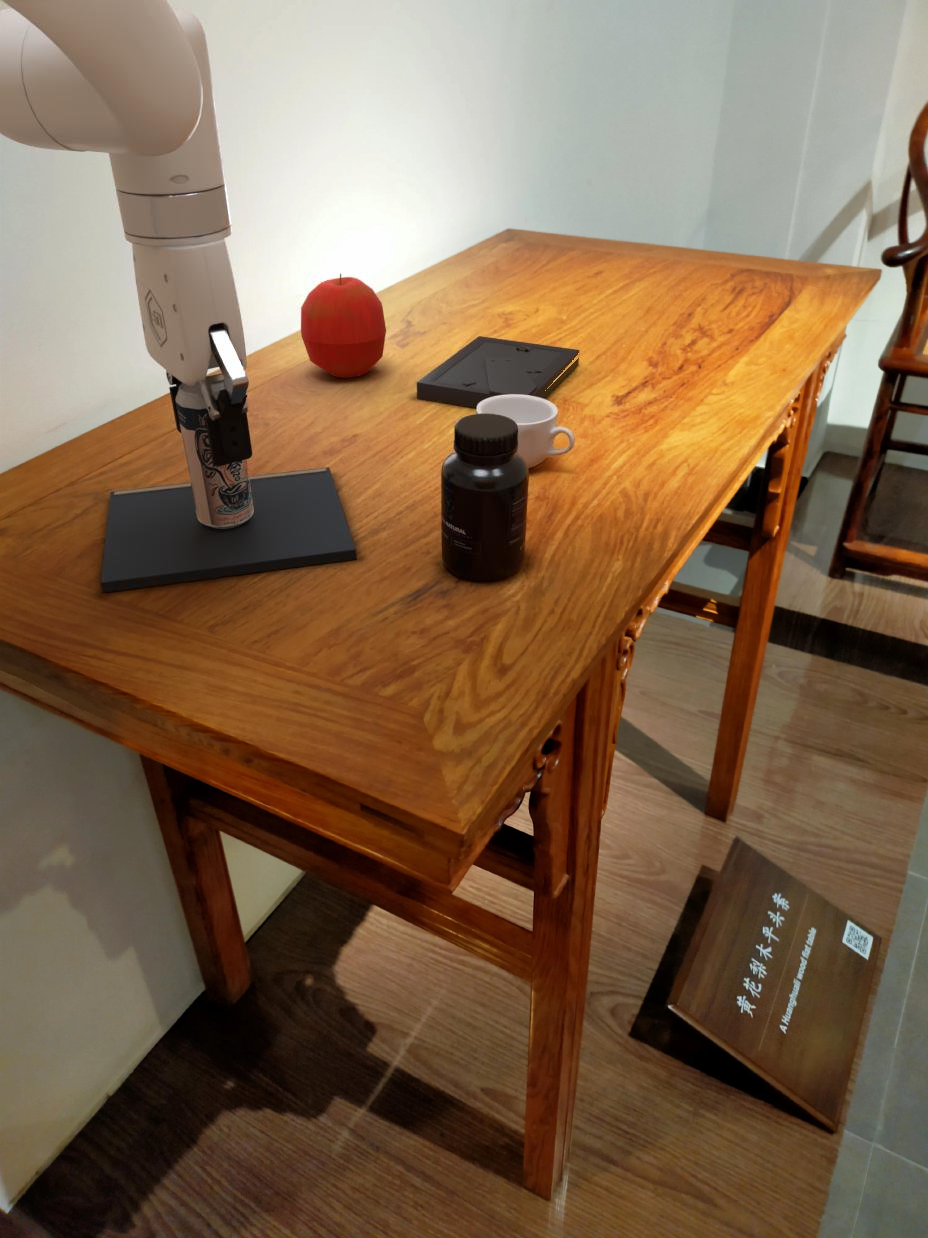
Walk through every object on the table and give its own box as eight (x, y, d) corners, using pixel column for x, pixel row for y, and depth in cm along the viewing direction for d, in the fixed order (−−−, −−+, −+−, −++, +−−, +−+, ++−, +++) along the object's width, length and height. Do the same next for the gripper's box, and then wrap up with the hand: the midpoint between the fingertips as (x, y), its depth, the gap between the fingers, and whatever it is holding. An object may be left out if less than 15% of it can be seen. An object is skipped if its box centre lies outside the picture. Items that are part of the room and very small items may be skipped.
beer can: (223, 538, 78) (200, 400, 71) (186, 521, 81) (160, 386, 74) (266, 516, 81) (248, 382, 75) (229, 500, 84) (208, 369, 77)
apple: (342, 351, 119) (335, 257, 113) (406, 367, 115) (402, 269, 108) (287, 375, 112) (276, 275, 106) (352, 392, 108) (345, 289, 101)
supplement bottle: (430, 576, 75) (426, 436, 68) (456, 535, 80) (455, 402, 74) (513, 590, 73) (518, 448, 67) (534, 547, 79) (540, 412, 72)
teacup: (461, 466, 92) (461, 414, 89) (498, 438, 97) (499, 388, 94) (555, 489, 88) (558, 435, 84) (587, 458, 93) (591, 407, 90)
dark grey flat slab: (102, 593, 73) (99, 581, 73) (112, 500, 86) (109, 490, 85) (356, 559, 77) (355, 548, 77) (330, 476, 90) (329, 465, 89)
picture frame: (526, 417, 102) (578, 364, 115) (527, 397, 100) (579, 346, 114) (416, 398, 106) (478, 350, 120) (416, 379, 105) (478, 332, 118)
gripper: (87, 199, 71) (134, 420, 81) (167, 244, 59) (211, 496, 69) (182, 188, 75) (216, 402, 85) (276, 229, 63) (303, 471, 73)
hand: (214, 443), depth 77 cm, fingers open, 6 cm apart
